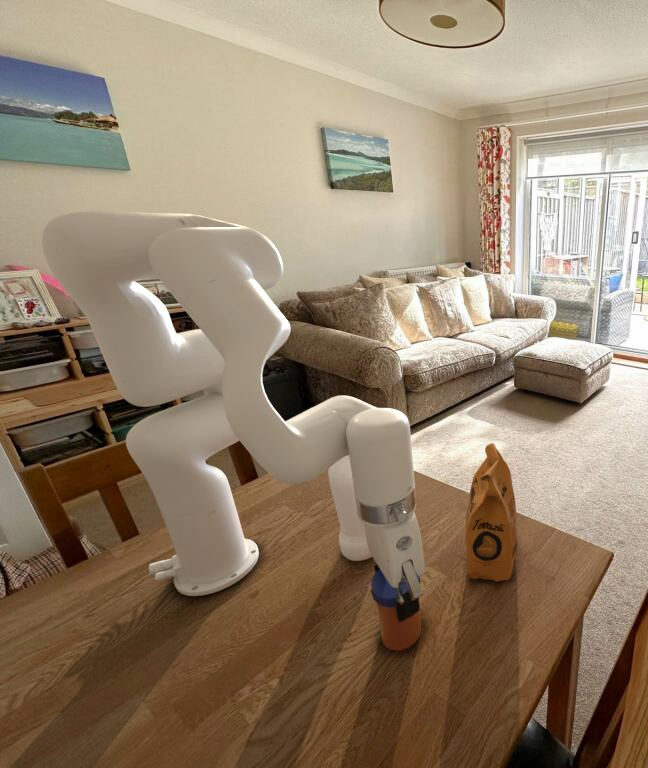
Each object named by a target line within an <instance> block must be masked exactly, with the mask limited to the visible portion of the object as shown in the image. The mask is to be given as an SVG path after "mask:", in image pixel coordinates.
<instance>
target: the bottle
mask: <svg viewBox="0 0 648 768" xmlns="http://www.w3.org/2000/svg"><path fill="white" fill-rule="evenodd" d="M327 477H328V483H329V487H330V491H331V495H332V499H333V502H334V506H335V511H336V514H337V519H338V523H339V526H340V527H339V528H340V530H339V534H338V544H339V549H340V552H341V554H342V556H343V557H345V558H346V559H347V560H349V561H353V562H359V561H360V562H361V561H366V560H369V559H371V558H373V557H372V555H371V553H370V551H369V548H368V545H367V541H366V535H365V527H364V524H363V523H362V522H361V521H360V519H359V517H358V512H357V505H356V499H355V492H354V485H353V478H352V472H351V465H350V458H349V455H347V456H345V457H343V458H342V459H340V460H339V461H338V462H336V463H335V464H334V465H332V466H331V467H330V468H328V469H327Z"/></svg>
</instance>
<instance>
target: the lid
mask: <svg viewBox="0 0 648 768" xmlns="http://www.w3.org/2000/svg"><path fill="white" fill-rule="evenodd" d="M415 573H416V572H415ZM402 574H403V573H402ZM402 576H403V575H402ZM416 576H417V579H418V581H419V584H420V585H421V576H418V574H417V573H416ZM400 586H401V590H402V593H403V592H405V591H407V590H408V586H407V583H404V584H402V585H400ZM370 588H371V589H370V591H371V596H372V599H373V601H374V602H375V603H376V605H377V604H379V605H381V606H384V607H396V604H395V600H396V599H397V595H396V591H395V588H394V587H392V586H391V585H390V584H389V582H388V581H387V579H386V578H385V576H384V575H383V573H382V571H381V570H380V569H379V570H378V571H377V572H376V573H375V572H374V574H373V576H372V578H371V581H370Z"/></svg>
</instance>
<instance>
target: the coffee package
mask: <svg viewBox="0 0 648 768" xmlns="http://www.w3.org/2000/svg"><path fill="white" fill-rule="evenodd" d="M484 453H485V455H486V458H485V459H484V460H483V461H482V463H481V464H480V466H479V467H478V468H477V470H476V471H475V473H474V474H473V477H472V481H471V485H470V491H469V495H468V501H467V506H466V507H467V508H466V514H465V515H466V517H465V535H464V536H465V537H464V538H465V547H466V560H467V567H466V570H467V571H466V572H467V574H468V576H469V577H470V578H471V579H474V580H477V579H483V580H486V581H487V580H490V581H494V582H496V583H498V582H503V581H508V580H510V579H511V577H512V573H513V569H514V566H515V565H514V564H515V559H516V558H517V555H518V518H517V517H518V515H517V505H516V498H515V492H514V491H515V490H514V485H513V478H512V472H511V469H510V467H509V466H508V463H507V461H505V459H504V458H503V456H502V454H501V453H500V451H499V450H498V448H497V447H496V445H495V443H494V442H491V443H488V444H487V445H486V446H485V448H484Z"/></svg>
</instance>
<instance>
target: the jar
mask: <svg viewBox="0 0 648 768" xmlns="http://www.w3.org/2000/svg"><path fill="white" fill-rule="evenodd" d="M376 607H377V616H378V622H379V631H380V636H381V642H382V644H383V645H384V646H385V647H386V648H387V649H388V650H391V651H395V652H396V651H399V652H400V651H403V650H406V649H408V648H410V647H412V646H413V645H414V644H415V643H416V642H417V641H418V639H419V637H420V636H421V633H422V620H421V609H420V610H419V611H418V612H417V613H415V614H414V615H413V616H411V617H410V618H407V619H405V620H404V621H402V622H399V621H398V619H397V613H396V607H384V606H381V605H379V604H377V603H376Z"/></svg>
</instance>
